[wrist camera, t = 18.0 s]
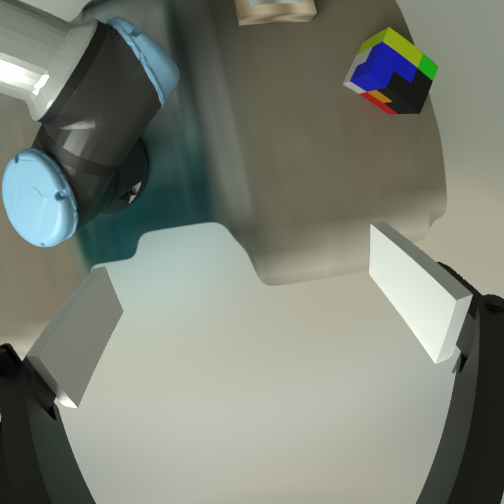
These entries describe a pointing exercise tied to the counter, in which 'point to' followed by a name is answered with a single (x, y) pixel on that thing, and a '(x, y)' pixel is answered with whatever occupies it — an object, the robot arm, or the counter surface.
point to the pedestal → (274, 11)
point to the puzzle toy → (391, 73)
